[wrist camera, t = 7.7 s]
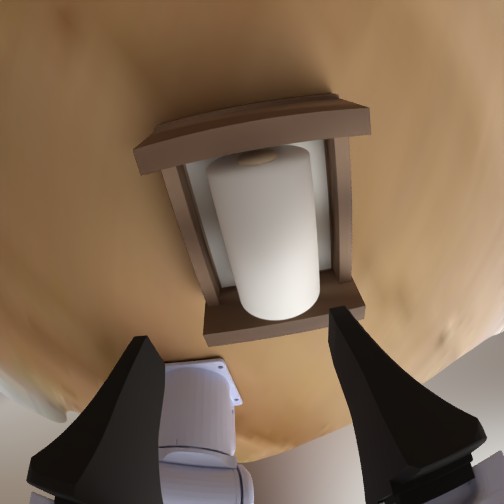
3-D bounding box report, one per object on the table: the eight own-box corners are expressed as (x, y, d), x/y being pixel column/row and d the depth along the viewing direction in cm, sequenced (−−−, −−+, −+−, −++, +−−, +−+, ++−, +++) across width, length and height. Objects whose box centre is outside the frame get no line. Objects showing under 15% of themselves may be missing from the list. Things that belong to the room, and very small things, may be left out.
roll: (304, 260, 20) (332, 307, 16) (235, 278, 20) (248, 332, 16) (289, 136, 15) (326, 158, 11) (202, 155, 15) (208, 185, 11)
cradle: (342, 273, 22) (363, 320, 18) (212, 296, 23) (209, 348, 18) (332, 93, 15) (368, 103, 11) (158, 124, 15) (131, 145, 11)
